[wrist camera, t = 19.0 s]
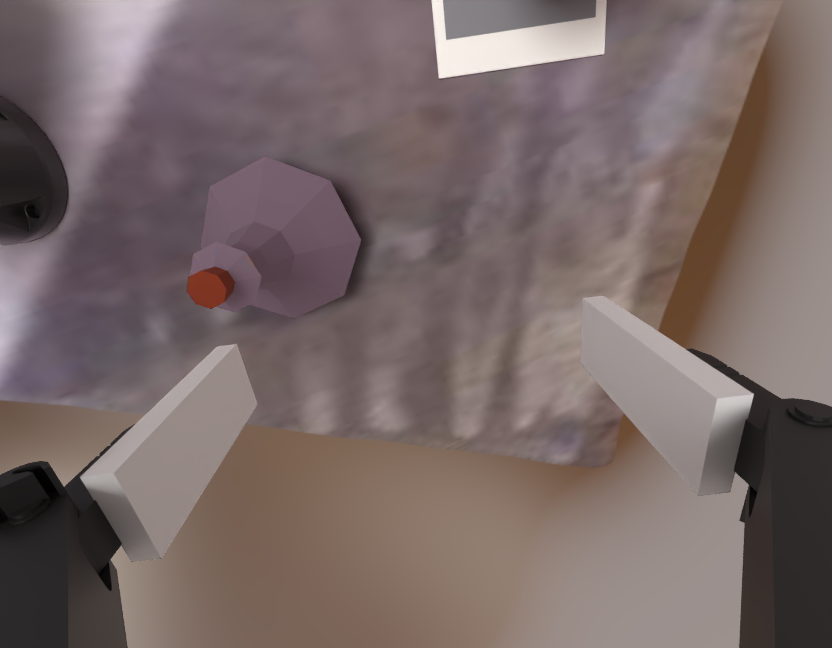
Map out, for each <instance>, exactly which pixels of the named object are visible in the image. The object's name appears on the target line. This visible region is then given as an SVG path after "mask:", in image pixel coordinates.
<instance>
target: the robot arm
mask: <svg viewBox="0 0 832 648" xmlns="http://www.w3.org/2000/svg"><path fill="white" fill-rule="evenodd" d="M66 203H67V184H66V178H65V174H64V170H63V167H62V164H61V162H60V159H59V157H58V155H57V153H56V151H55V149H54V148H53V146H52V144H51V143H50V141H49V140H48V138H47V137H46V135H45V134H44V133H43V132H42V130H41V129H40V128H39V127H38V126H37V125H36V123H35V122H34V121H33V120H32V119H31V118H30V117H28V116H27V115H26V114H25V113H24V112H23V111H22V110H20V109H19V108H18V107H16V106H15V105H14V104H12V103H11V102H9V101H8V100H6V99H4V98H3V97H1V96H0V245H13V244H18V243H23V242H28V241H32V240H36V239H39V238H41V237H43V236H45V235H46V234H48V233H49V232H51V231H52V230H53V229H54V228H55V227H56V226H57V225H58V223H59V222H60V220H61V218H62V216H63V214H64V211H65V208H66ZM580 364H581V365H582V366H583V367H584V368H585V369H586V371H587V372H588V373H589V374H590V375H591V376H592V377H593V378H594V380H595V381H596V382H597V383H598V384H599V385H600V386H601V387H602V389H603V390H604V391H605V392H606V393H607V394H608V395H609V397H610V398H611V399H612V400H613V401H614V402H615V403H616V404H617V406H618V407H619V408H620V409H621V410H622V411H623V412H624V413H625V415H626V416H627V417H628V418H629V419H630V420H631V421H632V422H633V424H634V425H635V426H636V427H637V428H638V429H639V430H640V432H641V433H642V434H643V435H644V436H645V437H646V438H647V440H648V441H649V442H650V443H651V444H652V445H653V446H654V447H655V449H656V450H657V451H658V452H659V453H660V454H661V455H662V456H663V458H664V459H665V460H666V461H667V462H668V463H669V464H670V466H671V467H672V468H673V469H674V470H675V471H676V472H677V473H678V475H679V476H680V477H681V478H682V479H683V480H684V481H685V482H686V484H687V485H688V486H689V487H690V488H691V489H692V490H693V492H694V493H695V494H696V495H697V496H703V495H711V494H720V493H728V492H730V491H731V487H732V483H733V478H734V474H735V472H736V473H737V474H738V475H739V476H740V477H741V478H742V479H744V480H745V481H746V482H747V483H748V484H749V487H748V490H747V494H746V499H745V502H744V506H743V510H742V513H741V517H740V521H742V522H744V523H745V528H744V551H743V552H744V553H743V575H742V597H741V620H740V644H739V648H832V407H830V406H828V405H825V404H821V403H818V402H814V401H810V400H802V399H794V398H791V399H781V398H779V397H777V396H776V395H774V394H773V393H771V392H769V391H768V390H766V389H764V388H763V387H761V386H760V385H758V384H757V383H755V382H753V381H752V380H750V379H748V378H747V377H745V376H744V375H740V374H739V373H738V372H737V371H736V370H734V369H732V368H731V367H727V365H726V364H724V363H723V362H721V361H719V360H718V359H716V358H715V357H713V356H711V355H708V354H705V353H702V352H700V351H697V350H694V349H684V348H683V347H681V346H680V345H678V344H676V343H675V342H673V341H672V340H670V339H669V338H667V337H666V336H664V335H663V334H661V333H660V332H658V331H657V330H655V329H654V328H652V327H651V326H649V325H648V324H646V323H644V322H643V321H641V320H640V319H638V318H637V317H635V316H634V315H632V314H631V313H629V312H628V311H626V310H625V309H623V308H622V307H620V306H619V305H617V304H615V303H614V302H612V301H611V300H609V299H608V298H606V297H605V296H597V297H589V298H583V302H582V330H581V357H580ZM256 406H257V401H256V399H255V396H254V393H253V390H252V387H251V384H250V381H249V378H248V375H247V372H246V370H245V367H244V364H243V361H242V358H241V355H240V352H239V349H238V346H237V344H232V345H224V346H217V347H216V348H215V349H214V350H213V351H212V352H211V353H210V354H209V355H208V356H206V357H205V358H204V359H203V360H202V361H201V362H200V363H199V364H198V365H197V366H196V367H195V368H194V369H193V370H192V371H191V372H190V373H189V374H188V375H187V376H185V377H184V378H183V379H182V380H181V381H180V382H179V383H178V384H177V385H176V386H175V387H174V388H173V389H172V390H171V391H170V392H169V393H168V394H167V395H166V396H164V397H163V398H162V399H161V400H160V401H159V402H158V403H157V404H156V405H155V406H154V407H153V408H152V409H151V410H150V411H149V412H148V413H147V414H146V415H145V416H144V417H142V418H141V419H140V420H139V421H138V422H137V423H136V424H134V425H133V426H131V427H129V428H128V429H126V430H125V431H123V432H122V433H121V434H120V435H119V436H118V437H117V438H116V439H115V440H114V441H113V442H112V443H111V446H107V447H106V448H105V449H104V450H103V451H102V452H101V453H100V456H97V457H96V458H95V459H94V460H92V461H91V462H90V463H89V464H88V465H87V466H86V467H85V468H84V469H83V470H82V471H81V472H80V473H79V474H78V475H76V476H75V477H74V478H73V479H72V480H71V481H70V482H69V483H68V484H67V485H66V486H65V487H64V486H63V485H62V484H61V482H60V480H59V479H58V477H57V476H56V474H55V472H54V471H53V469H52V468H51V466H50V465H49V463H48V462H44V461H39V462H33V463H28V464H25V465H23V466H19V467H17V468H14V469H12V470H10V471H7V472H5V473H3V474H1V475H0V648H128V647H127V641H126V633H125V626H124V619H123V611H122V605H121V597H120V590H119V583H118V576H117V570H116V568H115V566H114V565H113V563H112V562H111V560H110V559H111V558H112V557H113V555H114V554H115V553H116V551H117V550H118V549H119V547H120V546H122V547H123V549H124V551H125V552H126V554H127V555H128V557H129V559H130V560H131V562H135V561H144V560H153V559H161V558H162V557H163V555H164V554H165V552H166V550H167V549H168V547H169V546H170V544H171V542H172V541H173V539H174V538H175V536H176V534H177V533H178V531H179V530H180V528H181V526H182V525H183V523H184V522H185V520H186V518H187V517H188V515H189V514H190V512H191V510H192V509H193V507H194V505H195V504H196V502H197V501H198V499H199V497H200V496H201V494H202V493H203V491H204V489H205V488H206V486H207V485H208V483H209V481H210V480H211V478H212V477H213V475H214V473H215V472H216V470H217V469H218V467H219V465H220V464H221V462H222V460H223V459H224V457H225V456H226V454H227V453H228V451H229V449H230V448H231V446H232V444H233V443H234V441H235V440H236V438H237V437H238V435H239V433H240V432H241V430H242V428H243V427H244V425H245V424H246V422H247V421H248V419H249V417H250V416H251V414H252V413H253V411H254V409H255V408H256Z"/></svg>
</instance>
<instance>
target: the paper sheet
mask: <svg viewBox="0 0 832 648" xmlns="http://www.w3.org/2000/svg"><path fill="white" fill-rule="evenodd" d="M606 4H607V0H432V11H433V22H434V32H435V43H436V54H437V65H438V75H439V79H443V78H449V77H456V76H463V75H470V74H476V73H483V72H490V71H496V70H503V69H510V68H517V67H523V66H530V65H537V64H543V63H550V62H557V61H564V60H570V59H577V58H584V57H590V56H597V55H603V54H604V46H605V25H606Z"/></svg>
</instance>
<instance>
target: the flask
mask: <svg viewBox="0 0 832 648" xmlns="http://www.w3.org/2000/svg"><path fill="white" fill-rule="evenodd" d="M360 243H361V239H360V237H359V235H358V233H357V231H356V229H355V227H354V225H353V223H352V221H351V219H350V217H349V215H348V214H347V212H346V210H345V208H344V206H343V204H342V202H341V200H340V198H339V196H338V194H337V192H336V190H335V188H334V187H333V185H332V183H331V181H330V180H327V179H325V178H322V177H319V176H317V175H314V174H311V173H309V172H306V171H303V170H301V169H298V168H295V167H293V166H290V165H287V164H285V163H282V162H279V161H277V160H274V159H271V158H269V157H266V156H265V157H263V158H261V159H259V160H257V161H255V162H254V163H252V164H250V165H248V166H246V167H244V168H242V169H241V170H239V171H237V172H235V173H233V174H231V175H230V176H228V177H226V178H224V179H222V180H220V181H218V182H217V183H215V184H213V185H211V186H210V187H209V194H208V200H207V207H206V213H205V220H204V226H203V233H202V239H201V246H200V248H201V250H200V251H198V252H196V253H194V254H193V258H192V265H191V272H190V276H189V277H188V283H187V290H186V291H187V293H188V294H189V295H190V297H191V298H192V299H193V301H194V302H195V303H196V304H198V305H201V306H204V307H207V308H211V309H212V308H214V307H219V308H222V309H226V310H229V311H232V312H235V311H237V310H239V309H241V308H243V307H245V306H247V305H252V306H255V307H258V308H261V309H265V310H268V311H271V312H274V313H277V314H281V315H284V316H287V317H290V318H293V319H295V318H297V317H299V316H301V315H303V314H305V313H308V312H310V311H312V310H314V309H316V308H318V307H320V306H323V305H325V304H327V303H329V302H331V301H333V300H336V299H338V298H340V297H342V296H344V295H345V291H346V288H347V285H348V282H349V278H350V275H351V272H352V269H353V265H354V262H355V259H356V256H357V252H358V249H359V246H360Z"/></svg>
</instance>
